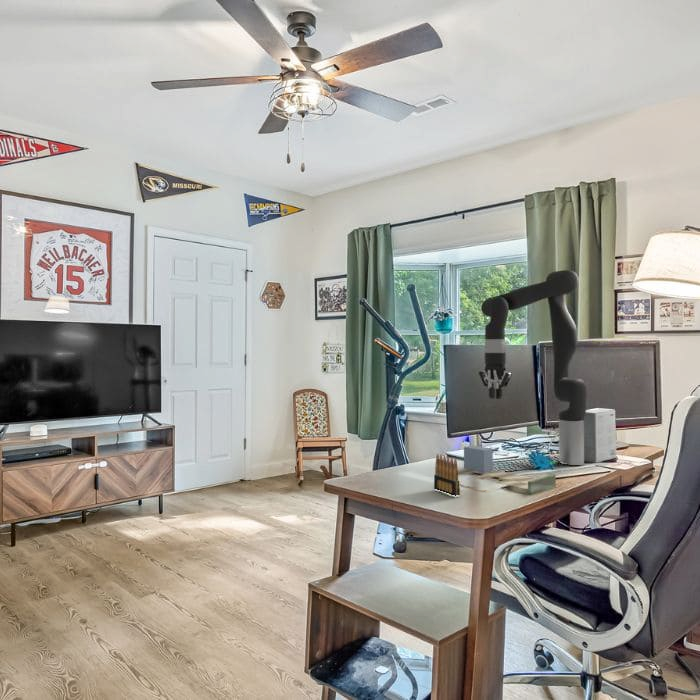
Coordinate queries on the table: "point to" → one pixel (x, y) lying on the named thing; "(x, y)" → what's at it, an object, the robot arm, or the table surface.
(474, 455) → the slate block
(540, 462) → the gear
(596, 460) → the hard drive box
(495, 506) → the table surface
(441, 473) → the ammunition clip
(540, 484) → the trap board
